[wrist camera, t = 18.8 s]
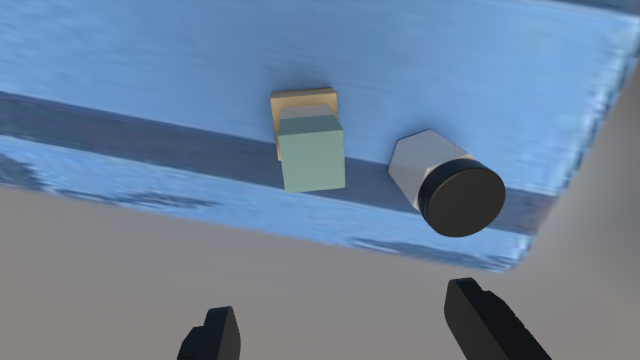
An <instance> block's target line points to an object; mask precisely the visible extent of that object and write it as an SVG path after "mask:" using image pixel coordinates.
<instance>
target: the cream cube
mask: <svg viewBox="0 0 640 360" xmlns="http://www.w3.org/2000/svg"><path fill="white" fill-rule="evenodd" d="M323 115H334V114H333V112H332V110H331V109H330V107H329V105H328V104H317V105H306V106H295V107H283V108H281V111H280V119H289V118H300V117H311V116H323Z"/></svg>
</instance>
